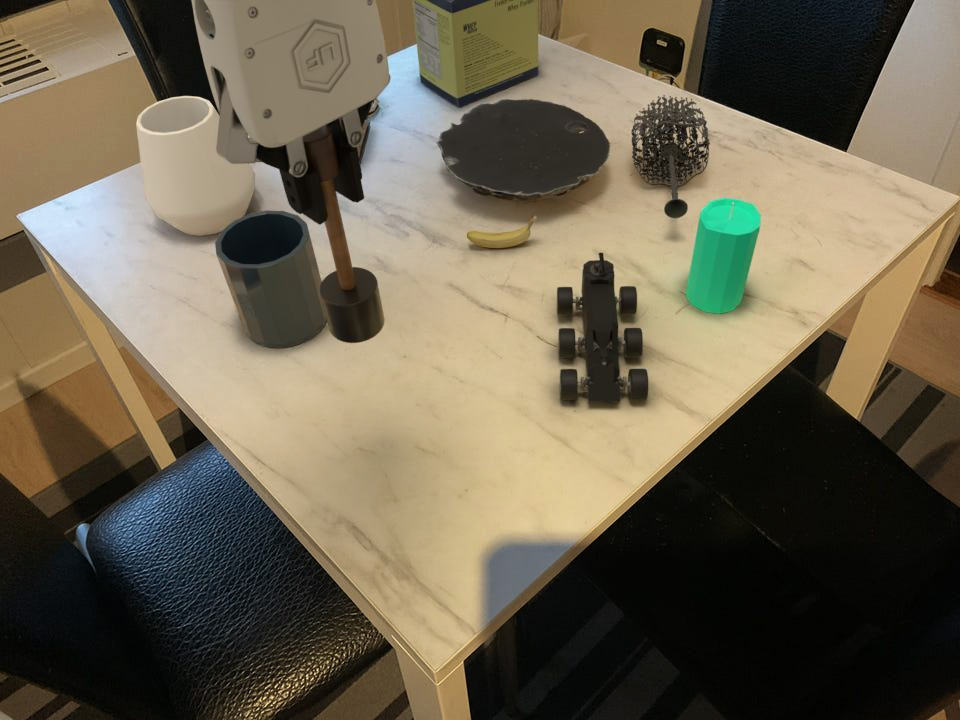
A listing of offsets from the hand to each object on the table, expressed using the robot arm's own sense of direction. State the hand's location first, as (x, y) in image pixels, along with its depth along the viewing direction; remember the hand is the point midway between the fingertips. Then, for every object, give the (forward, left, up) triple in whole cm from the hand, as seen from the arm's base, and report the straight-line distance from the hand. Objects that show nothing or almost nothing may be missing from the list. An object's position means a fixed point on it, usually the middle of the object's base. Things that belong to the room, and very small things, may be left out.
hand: (328, 202), depth 55 cm
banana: (+19, +25, -28) cm, 42 cm away
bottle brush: (0, 0, -12) cm, 12 cm away
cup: (-14, +44, -28) cm, 53 cm away
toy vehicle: (+23, +5, -28) cm, 37 cm away
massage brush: (+42, +29, -28) cm, 58 cm away
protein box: (+28, +65, -28) cm, 76 cm away
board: (+26, +38, -28) cm, 54 cm away
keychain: (+6, +57, -28) cm, 63 cm away
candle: (+38, +9, -28) cm, 48 cm away
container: (-7, +21, -27) cm, 35 cm away
